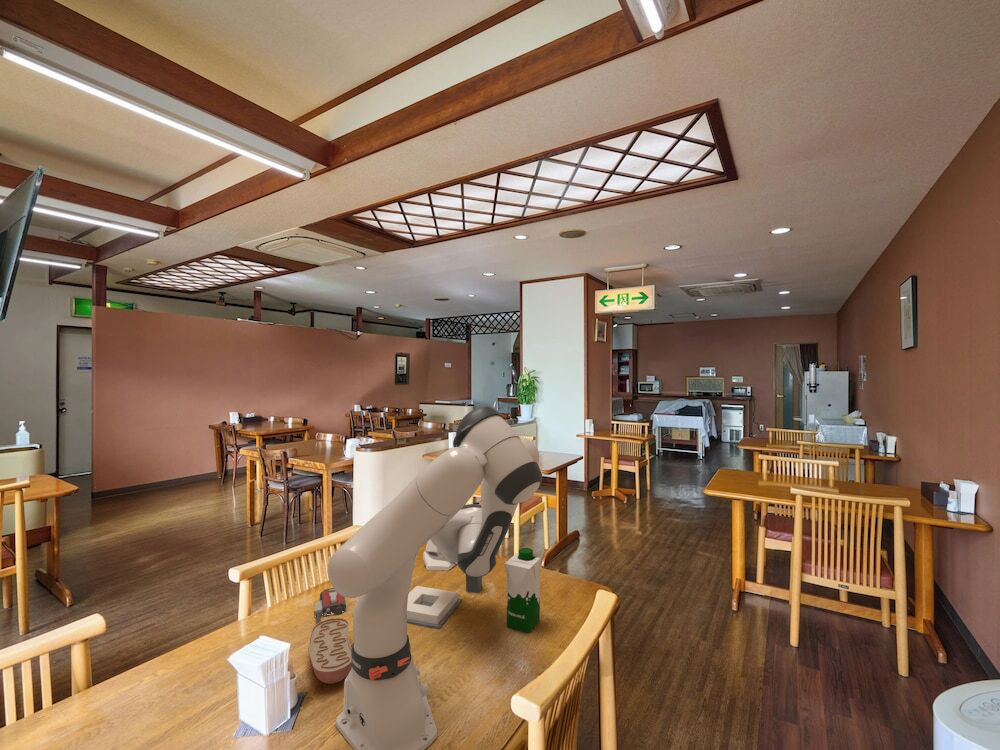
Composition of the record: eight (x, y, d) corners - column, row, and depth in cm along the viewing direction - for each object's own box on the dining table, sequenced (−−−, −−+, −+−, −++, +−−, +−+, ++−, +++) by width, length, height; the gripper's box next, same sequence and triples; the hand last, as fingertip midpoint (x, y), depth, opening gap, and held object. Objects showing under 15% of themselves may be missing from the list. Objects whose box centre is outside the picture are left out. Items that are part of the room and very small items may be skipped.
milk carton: (543, 619, 132) (543, 550, 131) (530, 636, 124) (530, 562, 123) (516, 612, 136) (515, 544, 135) (501, 627, 128) (501, 556, 127)
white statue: (465, 562, 174) (471, 529, 170) (440, 581, 161) (446, 546, 158) (440, 547, 180) (445, 515, 176) (414, 565, 167) (419, 530, 164)
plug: (482, 587, 151) (481, 557, 150) (477, 593, 147) (477, 562, 147) (470, 585, 152) (470, 555, 152) (466, 591, 148) (465, 560, 148)
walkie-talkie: (313, 599, 145) (314, 633, 126) (313, 585, 145) (314, 617, 126) (343, 593, 148) (348, 626, 130) (343, 580, 148) (348, 610, 129)
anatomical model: (356, 686, 105) (356, 664, 105) (309, 699, 101) (309, 676, 101) (347, 632, 126) (347, 614, 126) (308, 641, 122) (308, 623, 122)
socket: (461, 600, 142) (461, 591, 142) (439, 629, 127) (439, 618, 127) (415, 593, 147) (415, 583, 147) (388, 619, 132) (388, 609, 132)
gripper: (490, 538, 132) (502, 558, 141) (426, 530, 138) (441, 550, 148) (485, 560, 128) (497, 579, 137) (419, 551, 134) (435, 570, 144)
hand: (468, 564), depth 143 cm, fingers open, 8 cm apart
